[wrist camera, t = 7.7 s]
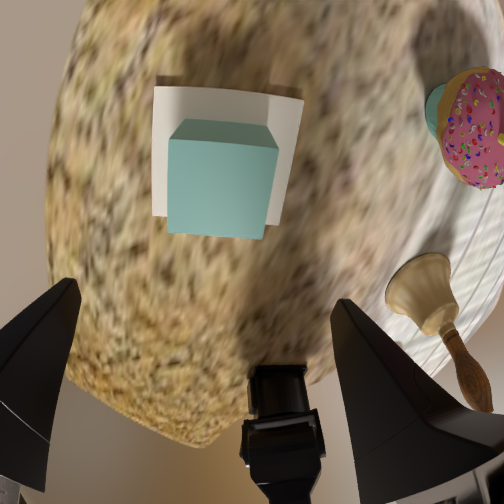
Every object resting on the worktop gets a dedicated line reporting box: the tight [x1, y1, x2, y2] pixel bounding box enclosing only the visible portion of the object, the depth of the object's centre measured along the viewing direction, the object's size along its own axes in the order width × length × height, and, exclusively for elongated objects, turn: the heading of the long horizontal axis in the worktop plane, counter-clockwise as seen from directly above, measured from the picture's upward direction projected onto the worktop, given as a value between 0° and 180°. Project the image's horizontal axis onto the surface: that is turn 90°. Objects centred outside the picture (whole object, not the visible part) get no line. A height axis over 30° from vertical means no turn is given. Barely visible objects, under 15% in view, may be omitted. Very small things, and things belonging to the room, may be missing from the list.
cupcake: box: [425, 67, 504, 190], centre depth 12 cm, size 9×8×12 cm
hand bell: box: [385, 253, 494, 413], centre depth 21 cm, size 8×8×16 cm
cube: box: [167, 119, 279, 240], centre depth 16 cm, size 5×5×5 cm
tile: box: [152, 86, 305, 226], centre depth 18 cm, size 9×9×1 cm
